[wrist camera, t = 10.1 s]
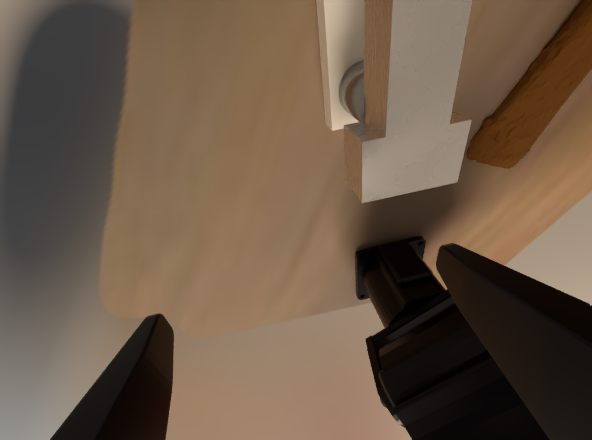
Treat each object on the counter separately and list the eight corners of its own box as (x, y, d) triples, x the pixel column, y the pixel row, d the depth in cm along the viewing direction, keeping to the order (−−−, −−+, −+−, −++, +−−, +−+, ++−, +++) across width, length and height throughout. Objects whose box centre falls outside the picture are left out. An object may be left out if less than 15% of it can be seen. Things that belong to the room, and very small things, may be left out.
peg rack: (384, 111, 19) (426, 136, 15) (325, 123, 18) (351, 151, 14) (397, -188, 12) (485, -301, 8) (302, -176, 11) (341, -286, 7)
